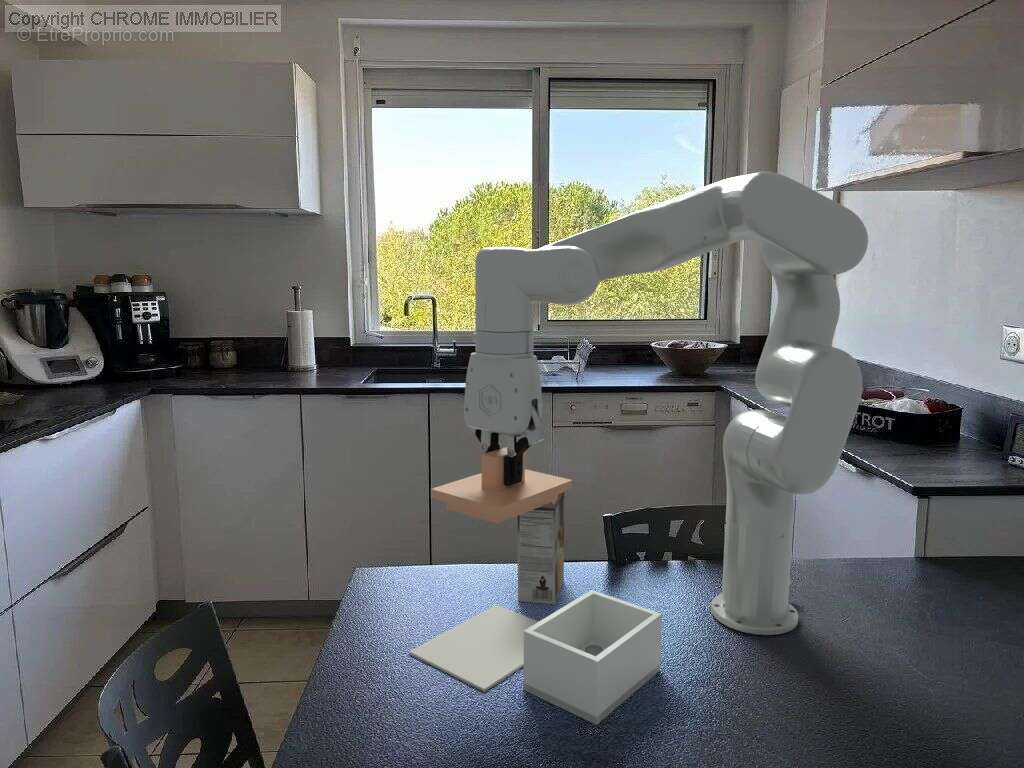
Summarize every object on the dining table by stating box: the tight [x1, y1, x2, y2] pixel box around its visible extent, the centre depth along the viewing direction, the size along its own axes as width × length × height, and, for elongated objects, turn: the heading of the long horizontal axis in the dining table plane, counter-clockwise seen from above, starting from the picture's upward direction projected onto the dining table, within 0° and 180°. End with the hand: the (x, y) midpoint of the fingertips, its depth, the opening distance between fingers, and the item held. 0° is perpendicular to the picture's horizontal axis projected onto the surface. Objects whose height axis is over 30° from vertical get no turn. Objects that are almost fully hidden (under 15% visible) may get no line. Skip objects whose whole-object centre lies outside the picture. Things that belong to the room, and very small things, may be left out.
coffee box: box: [517, 492, 565, 605], centre depth 119 cm, size 9×6×16 cm
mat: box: [408, 604, 539, 693], centre depth 103 cm, size 18×14×1 cm
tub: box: [523, 589, 663, 726], centre depth 94 cm, size 15×11×8 cm
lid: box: [430, 446, 574, 525], centre depth 98 cm, size 16×12×7 cm
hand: (503, 480), depth 98 cm, fingers closed on lid, 2 cm apart
